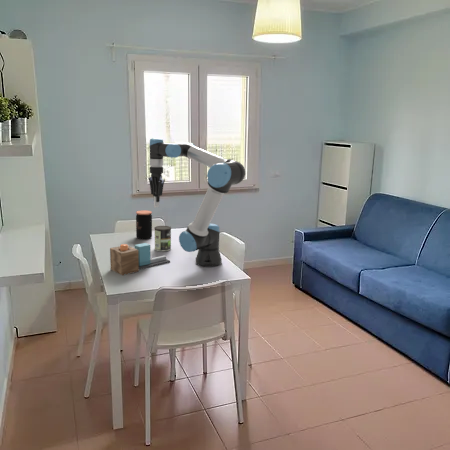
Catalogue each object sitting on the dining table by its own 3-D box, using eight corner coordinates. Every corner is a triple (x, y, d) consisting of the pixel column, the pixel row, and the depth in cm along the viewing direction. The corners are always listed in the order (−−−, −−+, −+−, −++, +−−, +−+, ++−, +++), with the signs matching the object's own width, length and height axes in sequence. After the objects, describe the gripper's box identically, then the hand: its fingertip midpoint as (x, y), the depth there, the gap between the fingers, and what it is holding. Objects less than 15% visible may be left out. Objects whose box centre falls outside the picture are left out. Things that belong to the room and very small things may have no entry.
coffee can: (173, 247, 285) (173, 226, 282) (167, 252, 275) (168, 230, 272) (157, 246, 287) (157, 225, 284) (152, 250, 277) (152, 228, 274)
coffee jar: (135, 235, 310) (135, 210, 305) (150, 235, 313) (150, 210, 309) (137, 240, 300) (136, 213, 296) (153, 239, 303) (153, 213, 299)
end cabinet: (139, 271, 240) (139, 249, 237) (122, 275, 233) (121, 253, 230) (127, 265, 249) (127, 244, 246) (110, 269, 242) (110, 248, 239)
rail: (170, 262, 256) (170, 257, 256) (137, 270, 242) (137, 264, 241) (162, 258, 262) (162, 254, 261) (129, 266, 247) (129, 261, 246)
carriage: (150, 263, 249) (150, 244, 246) (139, 266, 244) (139, 247, 241) (145, 261, 252) (145, 242, 250) (134, 263, 248) (134, 244, 245)
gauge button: (129, 256, 239) (129, 245, 237) (123, 257, 236) (122, 246, 235) (125, 254, 242) (125, 243, 240) (119, 255, 239) (118, 245, 237)
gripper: (168, 167, 249) (168, 208, 255) (155, 164, 259) (155, 204, 264) (157, 167, 244) (157, 209, 250) (144, 165, 254) (144, 206, 259)
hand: (156, 207), depth 257 cm, fingers closed
